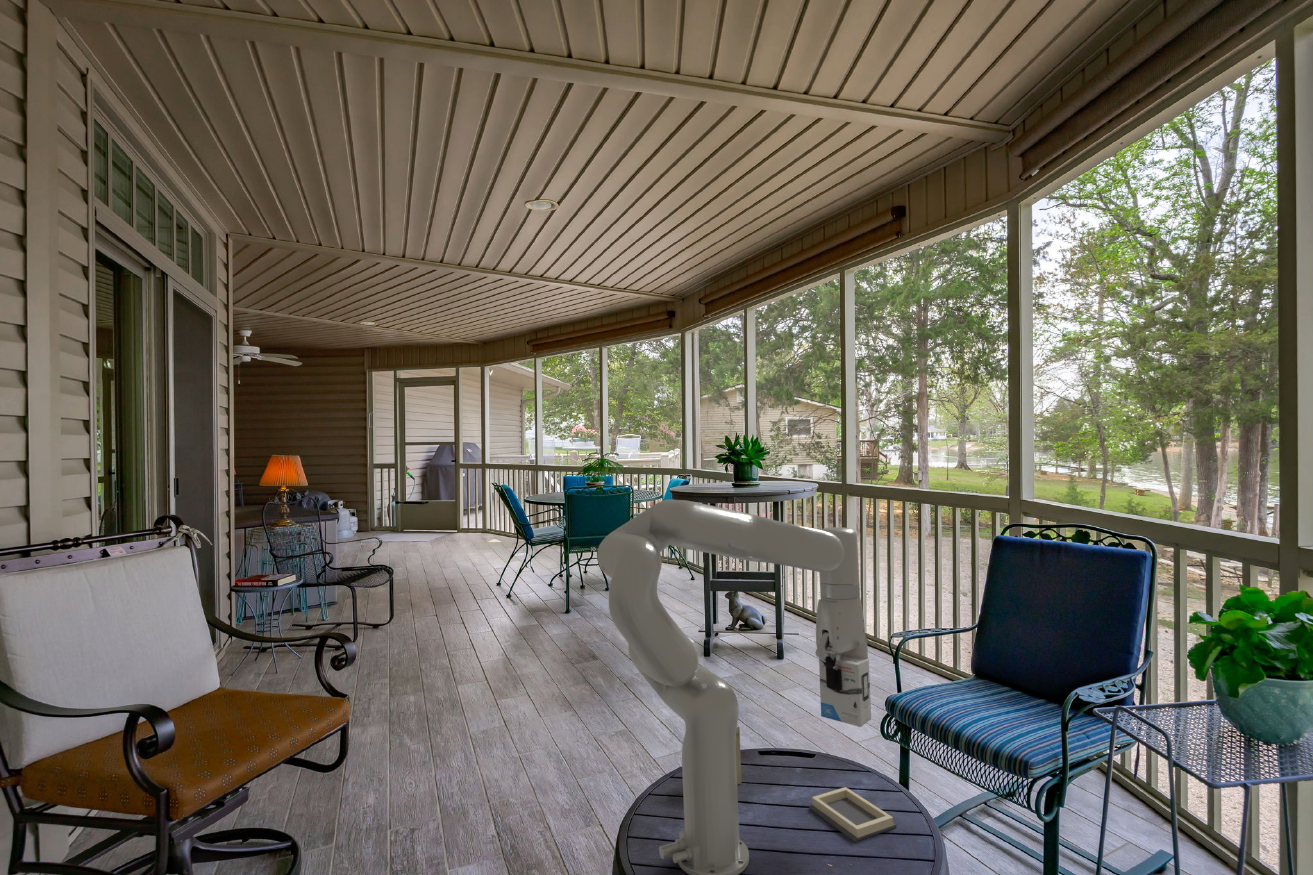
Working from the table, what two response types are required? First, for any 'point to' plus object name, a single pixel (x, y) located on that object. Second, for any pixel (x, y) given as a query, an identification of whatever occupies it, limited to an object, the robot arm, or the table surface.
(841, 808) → the cream picture frame
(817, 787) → the table surface
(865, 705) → the ink box
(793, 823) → the table surface
